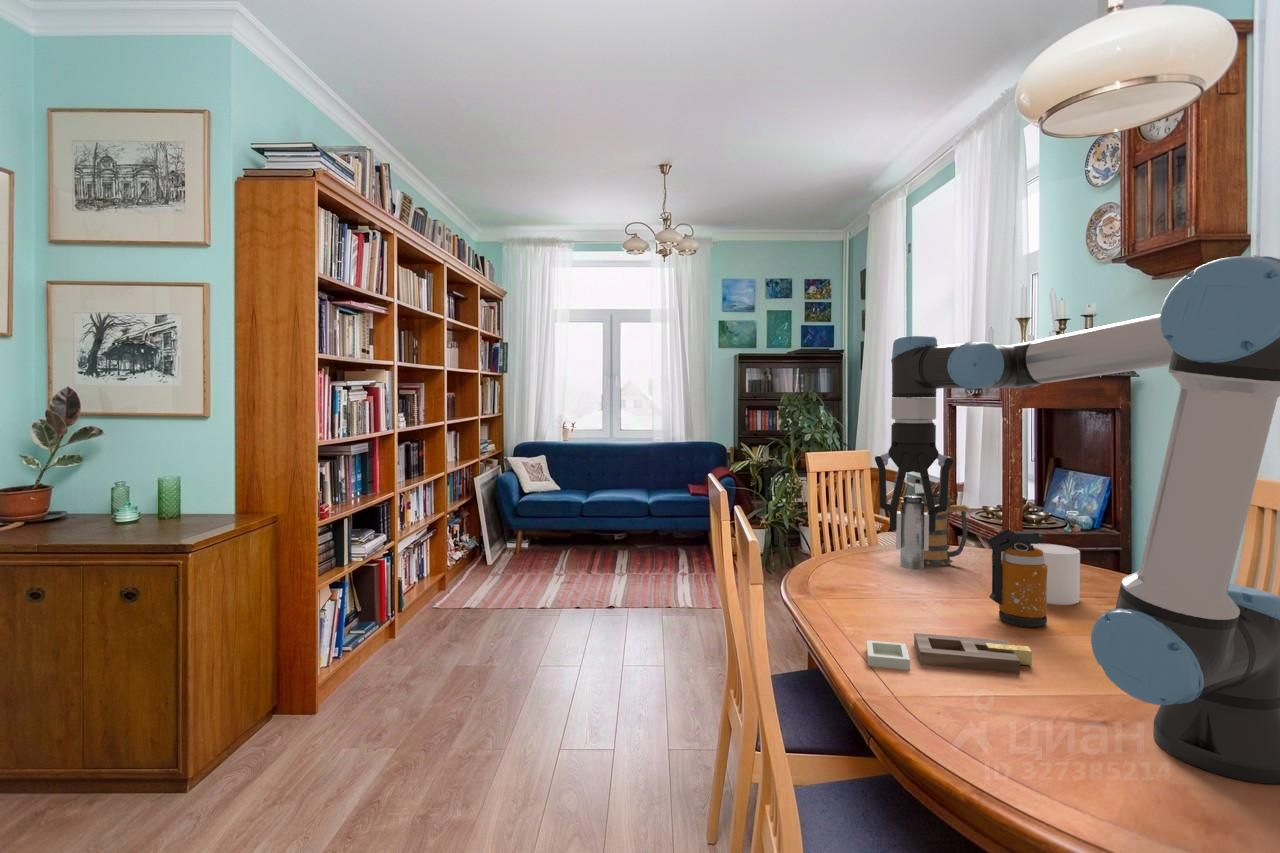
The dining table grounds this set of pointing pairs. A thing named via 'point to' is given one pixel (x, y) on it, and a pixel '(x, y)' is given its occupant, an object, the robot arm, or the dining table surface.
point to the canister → (1019, 578)
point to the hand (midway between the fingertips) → (911, 547)
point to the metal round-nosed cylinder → (912, 533)
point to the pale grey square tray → (887, 655)
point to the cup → (1061, 573)
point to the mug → (943, 534)
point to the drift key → (1013, 651)
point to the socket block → (964, 653)
